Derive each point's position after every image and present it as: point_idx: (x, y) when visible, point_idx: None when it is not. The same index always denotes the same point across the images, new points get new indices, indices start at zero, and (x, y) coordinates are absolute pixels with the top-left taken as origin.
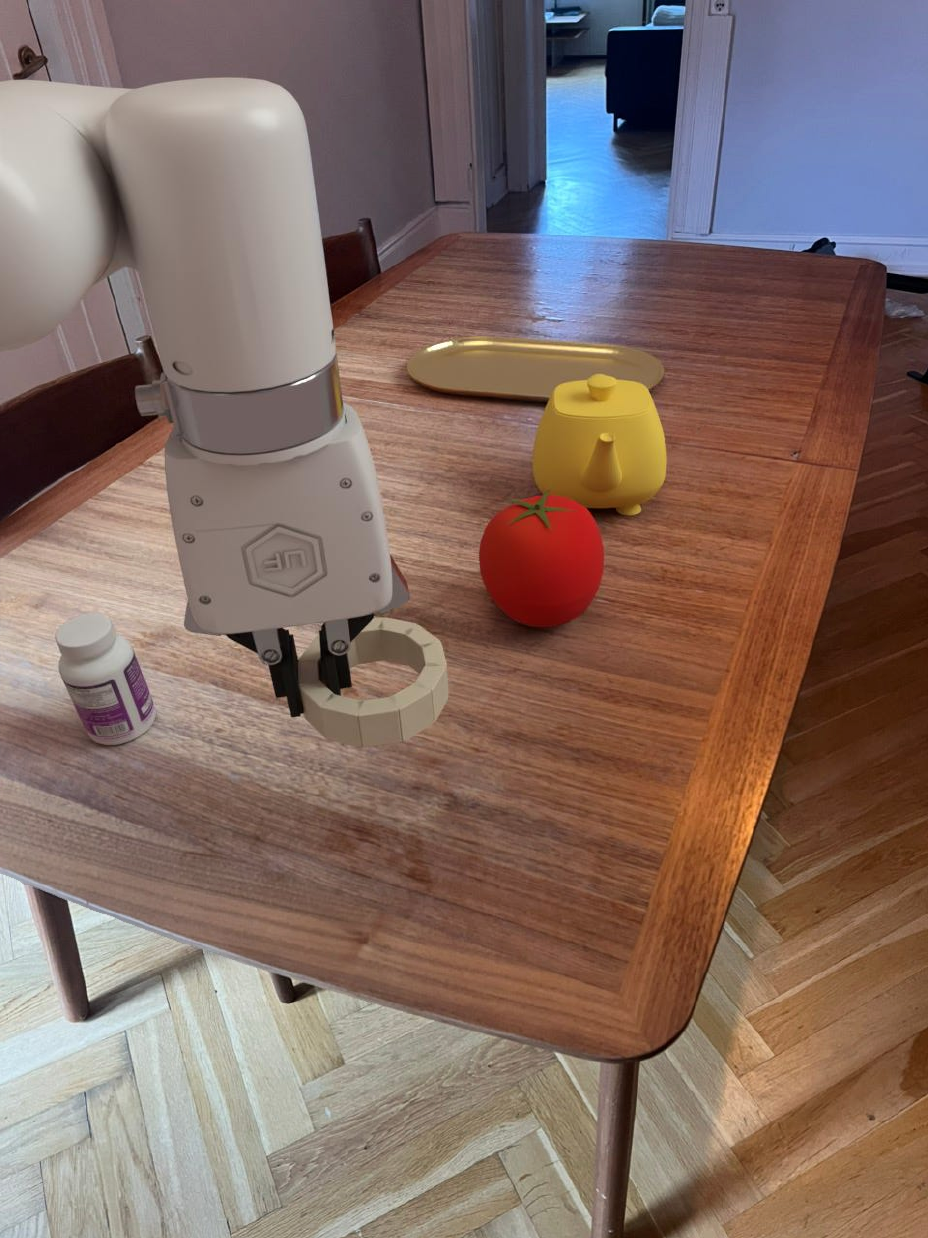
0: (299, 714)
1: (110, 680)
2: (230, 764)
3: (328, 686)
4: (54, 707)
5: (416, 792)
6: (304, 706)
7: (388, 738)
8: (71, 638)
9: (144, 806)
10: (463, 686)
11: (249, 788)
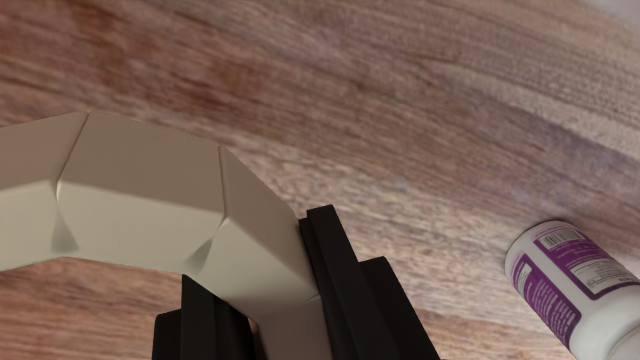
0: (308, 212)
1: (597, 298)
2: (408, 203)
3: (216, 303)
4: None
5: None
6: (296, 236)
7: None
8: None
9: (509, 135)
10: (100, 350)
11: (380, 168)
